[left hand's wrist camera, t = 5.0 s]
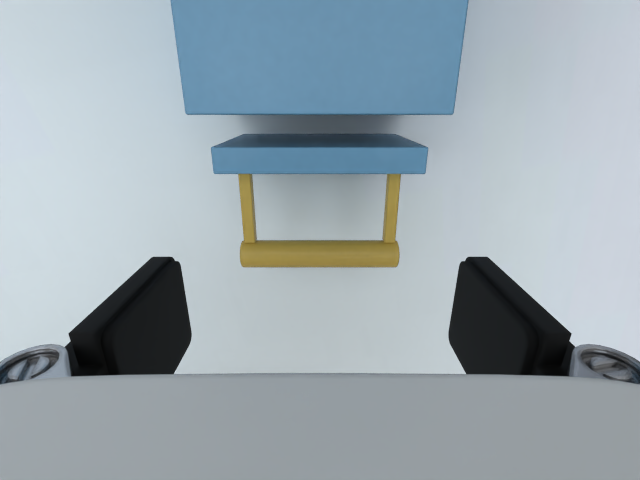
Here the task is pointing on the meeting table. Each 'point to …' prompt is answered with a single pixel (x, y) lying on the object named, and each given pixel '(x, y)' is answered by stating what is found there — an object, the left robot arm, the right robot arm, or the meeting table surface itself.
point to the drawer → (319, 158)
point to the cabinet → (319, 56)
